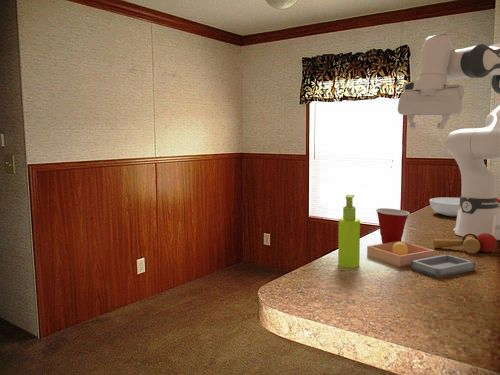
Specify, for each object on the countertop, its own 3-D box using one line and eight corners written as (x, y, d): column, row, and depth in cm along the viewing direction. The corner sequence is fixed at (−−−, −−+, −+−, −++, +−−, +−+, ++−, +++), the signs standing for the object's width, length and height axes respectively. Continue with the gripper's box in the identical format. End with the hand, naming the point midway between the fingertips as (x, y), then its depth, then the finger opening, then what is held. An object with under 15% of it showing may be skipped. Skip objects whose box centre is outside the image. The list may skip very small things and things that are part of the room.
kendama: (435, 255, 136) (499, 252, 129) (432, 235, 137) (496, 231, 130) (435, 254, 143) (496, 251, 136) (432, 235, 144) (493, 231, 137)
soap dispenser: (360, 261, 125) (361, 194, 123) (358, 268, 119) (359, 197, 117) (340, 260, 127) (340, 193, 125) (337, 267, 121) (337, 196, 119)
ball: (399, 254, 131) (400, 239, 131) (411, 257, 127) (411, 242, 127) (388, 255, 129) (389, 241, 129) (399, 259, 125) (400, 244, 125)
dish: (399, 250, 137) (400, 241, 137) (434, 261, 125) (434, 250, 125) (367, 256, 131) (367, 246, 131) (399, 267, 119) (400, 256, 119)
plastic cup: (411, 249, 138) (412, 213, 137) (376, 248, 140) (377, 212, 139) (406, 241, 149) (407, 207, 148) (374, 240, 151) (374, 207, 150)
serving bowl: (424, 216, 196) (424, 201, 196) (434, 210, 213) (435, 196, 213) (475, 221, 185) (476, 205, 184) (481, 213, 202) (482, 199, 201)
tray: (446, 262, 124) (446, 254, 124) (474, 270, 116) (475, 261, 116) (410, 268, 118) (411, 260, 118) (437, 278, 110) (438, 269, 110)
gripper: (468, 85, 134) (462, 130, 135) (407, 89, 149) (402, 129, 150) (460, 81, 129) (454, 128, 130) (398, 85, 144) (393, 126, 145)
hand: (426, 128), depth 140 cm, fingers open, 8 cm apart
